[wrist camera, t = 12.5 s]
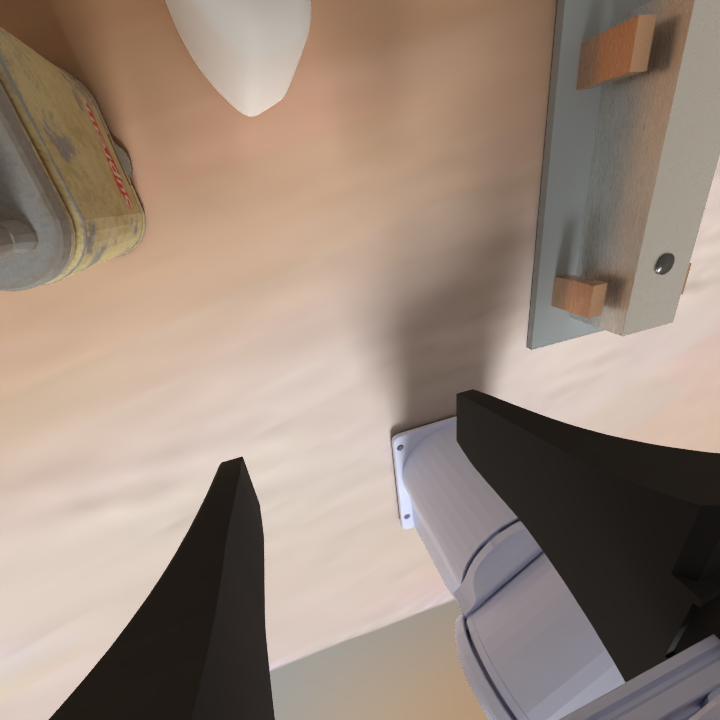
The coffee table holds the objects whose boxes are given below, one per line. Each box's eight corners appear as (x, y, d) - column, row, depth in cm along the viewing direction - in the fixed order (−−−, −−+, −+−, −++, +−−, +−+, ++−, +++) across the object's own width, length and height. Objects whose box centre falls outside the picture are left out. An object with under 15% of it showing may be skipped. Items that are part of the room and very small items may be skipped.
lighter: (-26, 69, 13) (-588, -206, 4) (87, 54, 14) (-195, -209, 5) (80, 264, 16) (-113, 339, 7) (167, 244, 17) (84, 292, 8)
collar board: (636, 317, 28) (684, 332, 25) (526, 347, 26) (565, 366, 23) (716, -35, 19) (807, -80, 16) (560, -34, 17) (630, -85, 14)
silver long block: (611, 21, 18) (702, -24, 14) (672, 18, 19) (772, -25, 15) (569, 317, 25) (623, 336, 22) (614, 305, 26) (674, 322, 22)
